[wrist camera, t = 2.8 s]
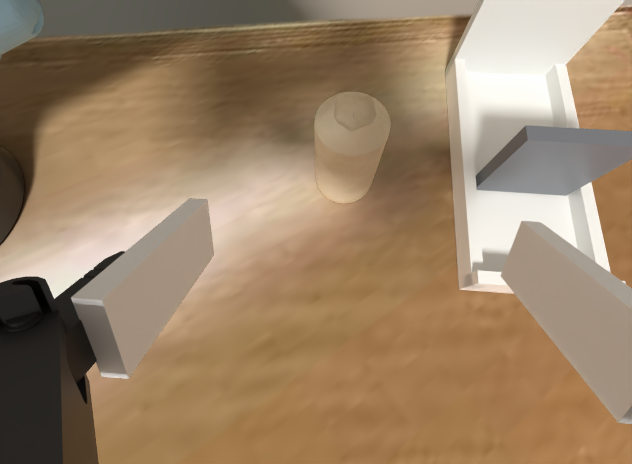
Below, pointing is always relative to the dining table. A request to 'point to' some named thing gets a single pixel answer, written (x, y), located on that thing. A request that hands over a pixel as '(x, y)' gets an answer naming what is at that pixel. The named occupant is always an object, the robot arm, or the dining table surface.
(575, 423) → the dining table surface
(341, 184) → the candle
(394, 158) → the dining table surface
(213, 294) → the dining table surface
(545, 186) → the plate
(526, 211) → the pusher lane
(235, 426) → the dining table surface
